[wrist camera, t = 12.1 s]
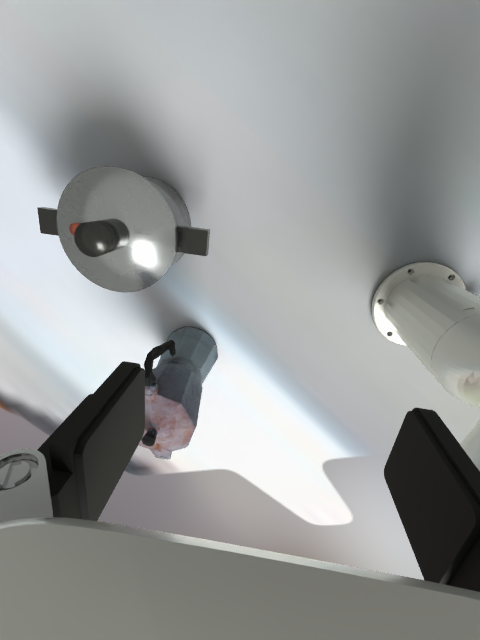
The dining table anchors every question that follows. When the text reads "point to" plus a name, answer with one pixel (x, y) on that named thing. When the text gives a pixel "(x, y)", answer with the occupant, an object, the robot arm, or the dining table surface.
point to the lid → (117, 228)
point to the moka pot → (175, 389)
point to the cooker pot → (188, 236)
